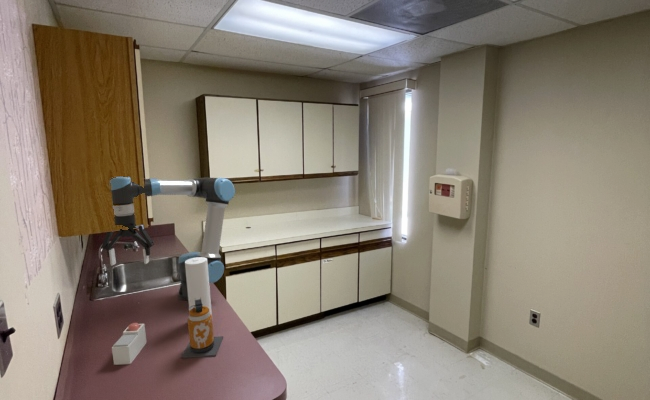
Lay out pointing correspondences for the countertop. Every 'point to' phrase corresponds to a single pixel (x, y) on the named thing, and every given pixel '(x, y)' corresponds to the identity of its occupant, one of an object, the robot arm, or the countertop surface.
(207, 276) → the cylinder container
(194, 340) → the canister
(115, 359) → the white rectangular box
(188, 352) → the drip mat
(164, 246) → the countertop surface
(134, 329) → the salmon pink capsule
